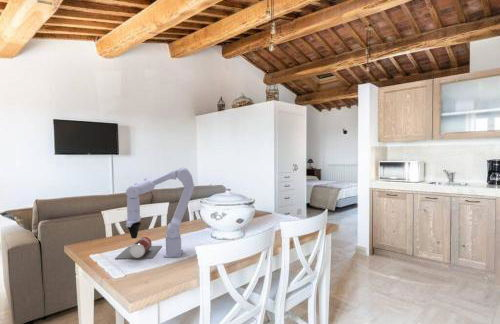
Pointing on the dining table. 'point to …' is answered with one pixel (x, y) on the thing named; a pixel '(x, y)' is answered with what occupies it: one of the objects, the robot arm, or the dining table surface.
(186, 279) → the dining table surface
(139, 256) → the soda can
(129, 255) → the mat
